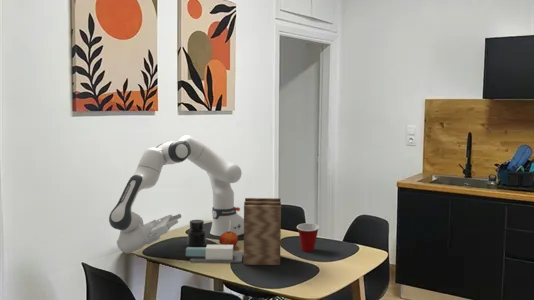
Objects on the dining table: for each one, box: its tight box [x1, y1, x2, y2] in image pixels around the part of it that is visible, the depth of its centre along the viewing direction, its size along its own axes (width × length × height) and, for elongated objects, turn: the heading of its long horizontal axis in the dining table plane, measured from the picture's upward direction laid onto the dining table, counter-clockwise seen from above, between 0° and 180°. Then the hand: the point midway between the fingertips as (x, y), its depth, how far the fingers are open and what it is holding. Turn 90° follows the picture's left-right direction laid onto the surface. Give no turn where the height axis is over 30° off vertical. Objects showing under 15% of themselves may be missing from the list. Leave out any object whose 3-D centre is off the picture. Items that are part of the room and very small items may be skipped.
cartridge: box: [185, 244, 234, 260], centre depth 229 cm, size 21×6×5 cm, turn 90°
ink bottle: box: [187, 219, 207, 247], centre depth 249 cm, size 10×9×12 cm
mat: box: [189, 251, 244, 264], centre depth 231 cm, size 23×13×1 cm, turn 90°
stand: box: [243, 197, 282, 266], centre depth 227 cm, size 16×14×27 cm
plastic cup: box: [296, 222, 320, 253], centre depth 243 cm, size 11×11×12 cm
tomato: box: [219, 231, 239, 249], centre depth 246 cm, size 9×9×8 cm
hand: (179, 218), depth 227 cm, fingers open, 8 cm apart
